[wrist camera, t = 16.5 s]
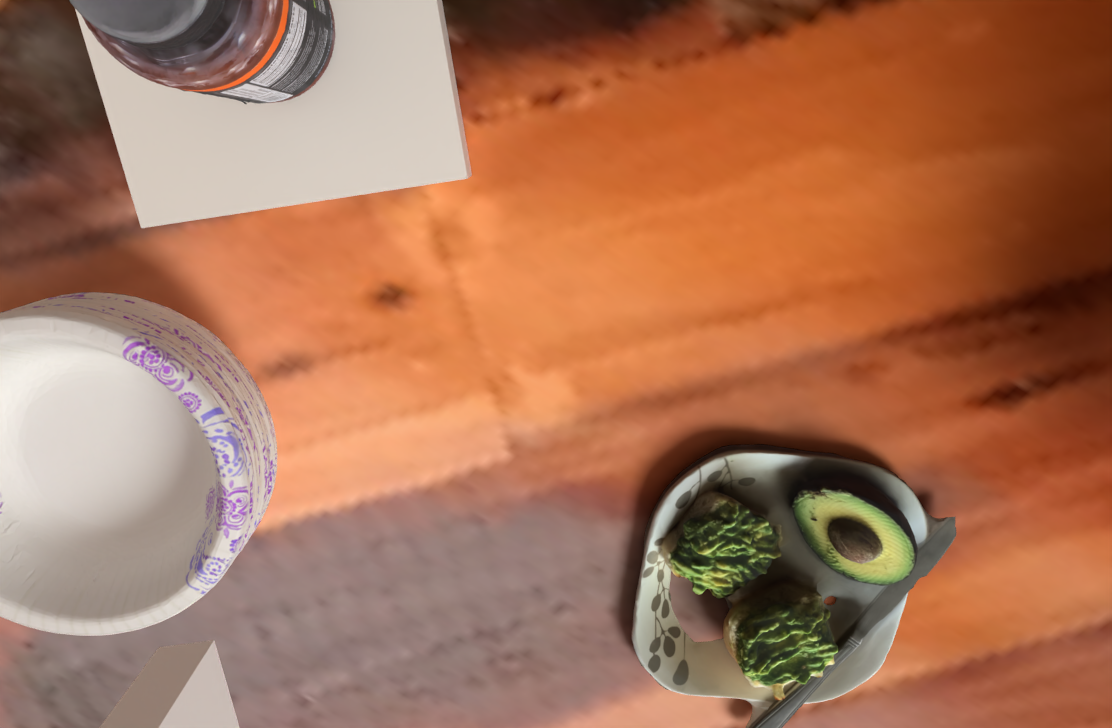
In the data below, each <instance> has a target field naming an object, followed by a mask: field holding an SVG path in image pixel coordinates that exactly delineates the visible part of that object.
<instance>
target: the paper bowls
mask: <svg viewBox="0 0 1112 728" xmlns="http://www.w3.org/2000/svg"><path fill="white" fill-rule="evenodd" d="M276 472H277V442H276V435H275V429H274V424H273V421H272V417H271V414H270V411H269V409H268V407H267V405H266V402H265V400H264V397H263V395H262V393H261V391H260V390H259V388H258V386H257V384H256V383H255V381H254V379H253V378H252V376H251V375H250V373H249V372H248V370H247V369H246V368H245V367H244V365H243V364H242V363H241V362H240V361H239V360H238V359H237V357H236V356H235V355H234V354H233V353H232V351H231V350H230V349H229V348H228V347H227V346H226V345H225V344H224V343H223V342H222V341H221V340H220V339H219V338H218V337H217V336H216V335H214V334H213V333H212V332H211V331H209V330H208V329H206V328H205V327H203V326H202V325H201V324H199V323H197V322H195V321H194V320H192V319H190V318H188V317H186V316H184V315H182V314H180V313H179V312H177V311H175V310H173V309H170V308H168V307H166V306H163V305H160V304H157V303H154V302H151V301H148V300H145V299H142V298H138V297H134V296H128V295H123V294H116V293H98V292H88V293H87V292H81V293H74V294H67V295H60V296H57V297H52V298H46V299H43V300H40V301H36V302H33V303H29V304H27V305H24V306H20V307H17V308H14V309H11V310H8V311H5V312H1V313H0V617H3V618H5V619H8V620H10V621H12V622H15V623H18V624H21V625H24V626H27V627H31V628H34V629H38V630H42V631H47V632H52V633H59V634H69V635H79V636H95V635H111V634H118V633H124V632H129V631H134V630H138V629H141V628H145V627H148V626H151V625H154V624H156V623H159V622H162V621H164V620H166V619H168V618H170V617H172V616H174V615H176V614H178V613H180V612H181V611H183V610H184V609H186V608H187V607H189V606H190V605H192V604H193V603H195V602H196V601H197V600H199V599H200V598H201V597H203V596H204V595H205V594H206V593H207V592H208V591H209V590H210V589H211V588H213V587H214V586H215V585H216V584H217V582H218V581H219V580H220V579H221V578H222V577H223V575H224V574H225V573H226V571H227V570H228V568H229V567H230V565H231V564H232V563H233V561H234V559H235V558H236V556H237V555H238V554H239V553H240V552H241V551H242V549H243V547H244V546H245V544H246V543H247V541H248V540H249V538H250V536H251V535H252V534H253V532H254V531H255V529H256V528H257V526H258V524H259V523H260V521H261V519H262V517H263V515H264V513H265V511H266V508H267V506H268V504H269V501H270V498H271V495H272V492H273V489H274V484H275V479H276Z"/></svg>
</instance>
